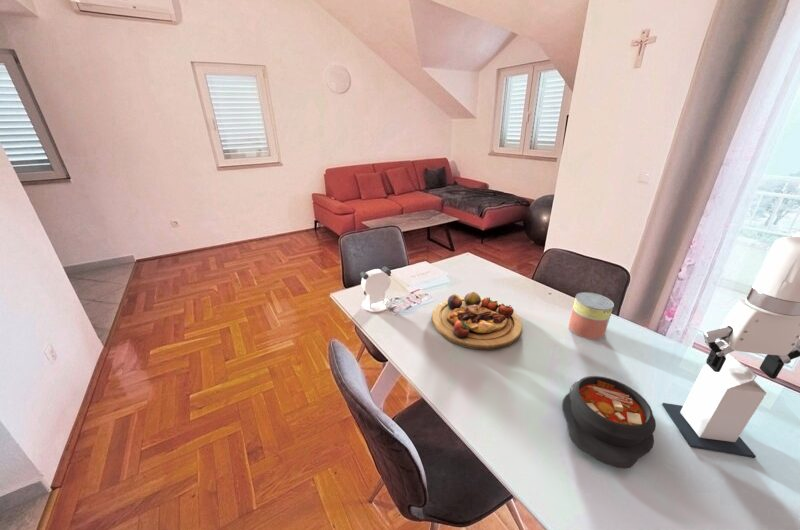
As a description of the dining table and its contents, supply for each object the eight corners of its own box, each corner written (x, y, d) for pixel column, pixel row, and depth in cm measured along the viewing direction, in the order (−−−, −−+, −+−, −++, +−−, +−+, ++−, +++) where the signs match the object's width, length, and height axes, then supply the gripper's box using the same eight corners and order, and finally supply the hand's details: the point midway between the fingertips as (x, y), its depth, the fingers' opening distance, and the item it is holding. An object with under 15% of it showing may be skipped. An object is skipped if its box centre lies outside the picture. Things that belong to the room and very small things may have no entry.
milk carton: (699, 438, 71) (735, 374, 63) (679, 412, 77) (710, 351, 70) (735, 443, 70) (776, 378, 62) (712, 416, 76) (746, 354, 68)
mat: (716, 412, 78) (717, 410, 78) (755, 458, 67) (756, 456, 67) (661, 404, 80) (662, 402, 80) (690, 446, 70) (691, 445, 69)
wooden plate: (483, 366, 93) (486, 343, 90) (413, 319, 116) (413, 300, 113) (539, 326, 112) (543, 306, 108) (469, 292, 134) (471, 275, 131)
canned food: (607, 343, 103) (617, 312, 98) (569, 335, 107) (577, 305, 102) (601, 324, 113) (610, 295, 108) (566, 318, 117) (574, 289, 112)
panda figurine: (383, 294, 133) (382, 262, 127) (396, 306, 124) (396, 272, 118) (357, 301, 128) (355, 268, 122) (369, 315, 119) (367, 279, 113)
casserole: (571, 377, 89) (578, 353, 86) (652, 410, 79) (664, 385, 75) (548, 441, 71) (555, 414, 68) (649, 495, 61) (663, 466, 57)
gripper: (814, 295, 61) (773, 364, 68) (709, 288, 65) (681, 354, 72) (855, 316, 55) (806, 390, 61) (736, 307, 58) (702, 377, 65)
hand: (739, 370), depth 67 cm, fingers open, 9 cm apart
